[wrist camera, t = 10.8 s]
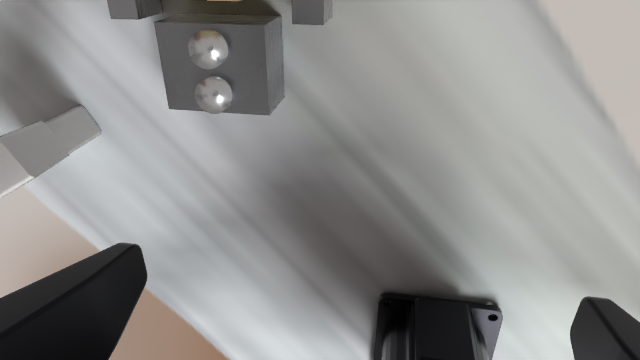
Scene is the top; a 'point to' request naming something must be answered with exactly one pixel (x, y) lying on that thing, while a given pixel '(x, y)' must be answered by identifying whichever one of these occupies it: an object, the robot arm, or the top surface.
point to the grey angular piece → (42, 146)
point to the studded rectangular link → (222, 55)
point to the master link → (224, 0)
